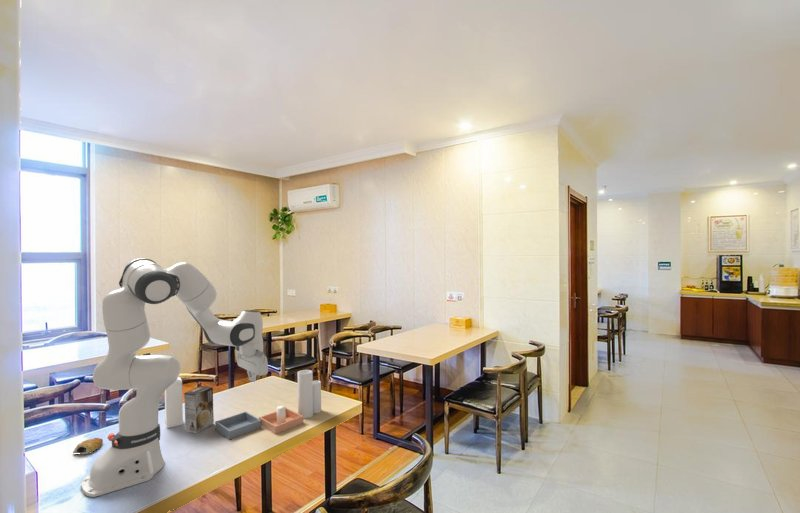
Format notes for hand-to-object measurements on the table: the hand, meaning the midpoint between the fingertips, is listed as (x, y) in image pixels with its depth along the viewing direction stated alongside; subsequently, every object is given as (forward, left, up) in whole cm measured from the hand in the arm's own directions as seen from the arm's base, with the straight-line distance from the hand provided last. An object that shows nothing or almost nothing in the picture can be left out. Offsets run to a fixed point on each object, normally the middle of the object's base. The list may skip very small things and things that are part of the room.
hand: (252, 380), depth 161 cm
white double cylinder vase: (+23, -7, -20) cm, 31 cm away
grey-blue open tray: (-5, +3, -20) cm, 21 cm away
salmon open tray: (+9, -7, -20) cm, 23 cm away
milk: (-21, +29, -20) cm, 41 cm away
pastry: (-50, +30, -20) cm, 61 cm away
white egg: (+9, -7, -19) cm, 22 cm away
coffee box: (-15, +17, -20) cm, 30 cm away
